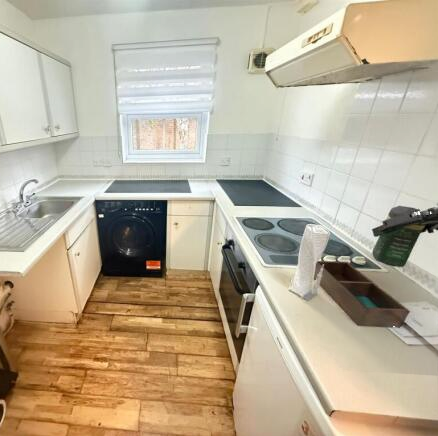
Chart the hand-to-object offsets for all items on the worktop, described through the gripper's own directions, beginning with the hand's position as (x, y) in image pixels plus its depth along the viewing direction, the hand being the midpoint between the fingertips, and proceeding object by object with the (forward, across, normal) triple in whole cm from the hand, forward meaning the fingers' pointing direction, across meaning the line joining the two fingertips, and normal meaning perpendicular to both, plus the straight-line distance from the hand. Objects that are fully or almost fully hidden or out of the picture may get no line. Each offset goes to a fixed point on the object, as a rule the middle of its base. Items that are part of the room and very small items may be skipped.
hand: (388, 233), depth 80 cm
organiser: (+14, +8, +20) cm, 26 cm away
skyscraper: (+15, +24, +19) cm, 34 cm away
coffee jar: (+4, 0, +8) cm, 9 cm away
